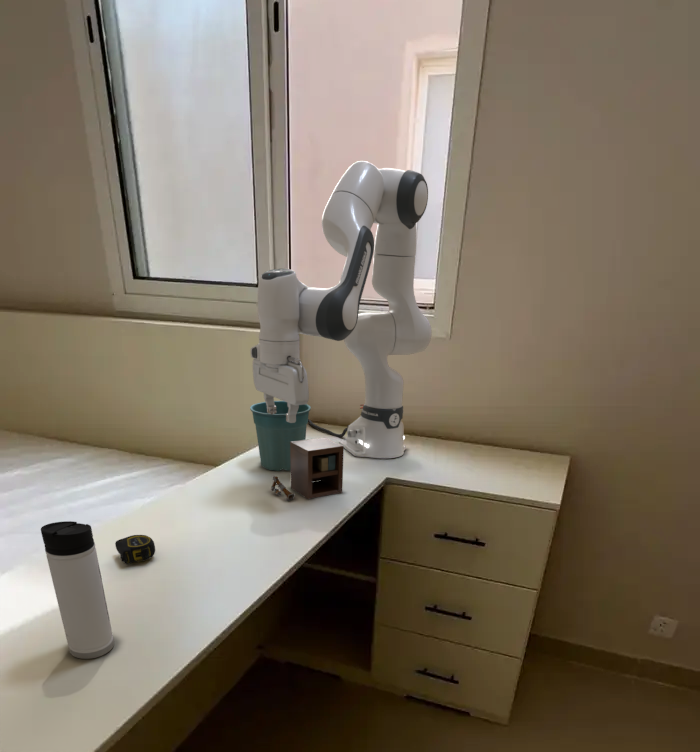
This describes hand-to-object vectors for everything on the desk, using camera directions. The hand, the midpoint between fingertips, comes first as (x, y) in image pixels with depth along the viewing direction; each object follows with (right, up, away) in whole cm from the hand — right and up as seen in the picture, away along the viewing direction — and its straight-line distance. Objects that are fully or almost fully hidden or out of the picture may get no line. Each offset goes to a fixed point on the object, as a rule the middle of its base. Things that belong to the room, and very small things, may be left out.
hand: (281, 417), depth 139 cm
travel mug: (-23, -50, -49) cm, 74 cm away
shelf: (+7, -14, +15) cm, 22 cm away
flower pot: (-3, -4, +32) cm, 33 cm away
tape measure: (-26, -35, -23) cm, 49 cm away
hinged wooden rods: (-1, -17, +10) cm, 19 cm away
